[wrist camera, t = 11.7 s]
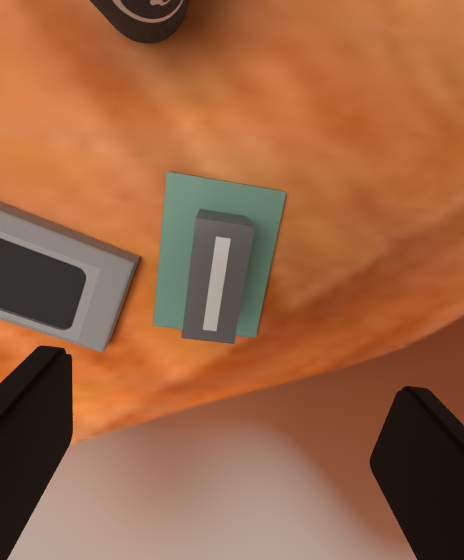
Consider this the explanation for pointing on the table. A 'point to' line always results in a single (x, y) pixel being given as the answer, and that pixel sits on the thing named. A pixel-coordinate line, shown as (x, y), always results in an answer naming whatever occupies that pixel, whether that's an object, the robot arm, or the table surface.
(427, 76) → the table surface
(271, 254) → the board
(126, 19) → the coffee cup
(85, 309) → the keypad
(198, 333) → the block
